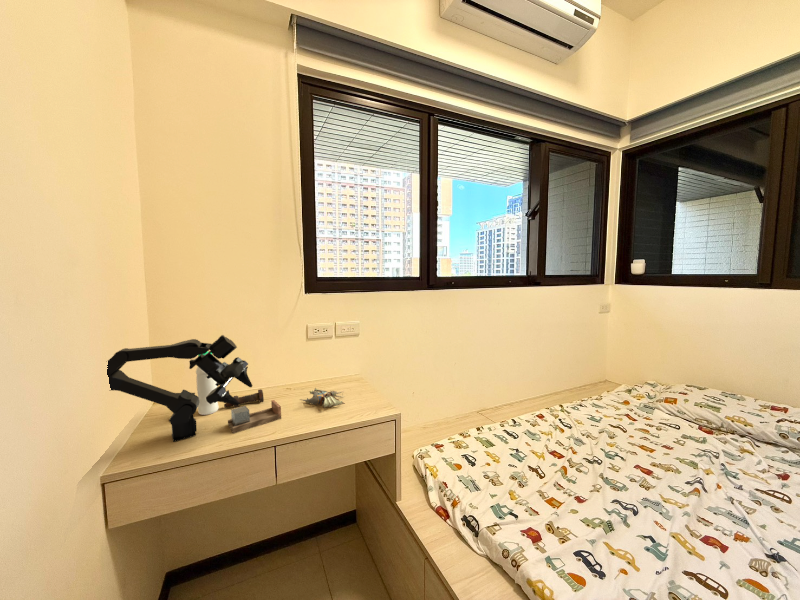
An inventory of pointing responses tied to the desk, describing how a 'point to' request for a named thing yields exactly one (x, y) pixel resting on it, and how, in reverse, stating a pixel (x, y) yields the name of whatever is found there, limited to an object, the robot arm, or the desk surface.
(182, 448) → the desk surface
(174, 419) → the robot arm
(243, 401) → the bolt
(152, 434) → the desk surface
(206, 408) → the water bottle
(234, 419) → the block
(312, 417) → the desk surface
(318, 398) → the figurine
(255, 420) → the track
